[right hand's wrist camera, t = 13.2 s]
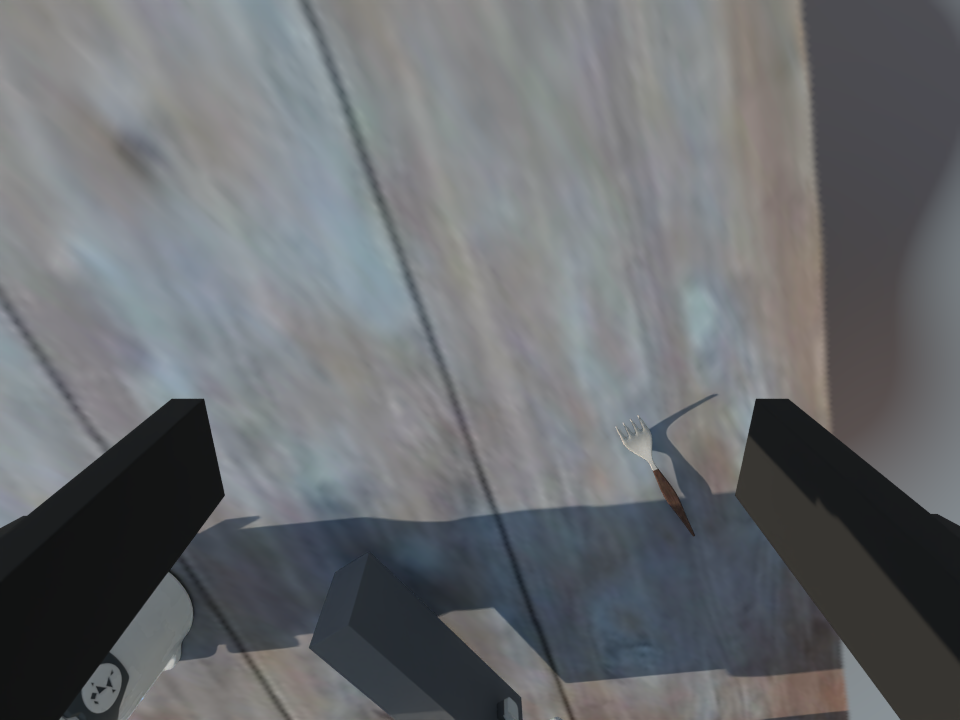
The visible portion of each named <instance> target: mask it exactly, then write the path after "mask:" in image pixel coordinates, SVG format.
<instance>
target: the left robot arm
mask: <svg viewBox="0 0 960 720" xmlns="http://www.w3.org/2000/svg"><path fill="white" fill-rule="evenodd" d="M192 622H193V607H192V603H191V600H190V597H189V595H188V593H187V592H186V590H185V589H184V587H183V586H182V585H181V583H180V582H179V581H178V580H177V579H176V578H175V577H174V576H173V575H172V574H171V573H169V572H168V573H167V575H166V576H165V577H164V579H163V580H162V581H161V583H160V584H159V585H158V587H157V588H156V589H155V591H154V592H153V594H152V595H151V596H150V598H149V599H148V600H147V602H146V603H145V604H144V606H143V607H142V608H141V610H140V611H139V612H138V614H137V615H136V617H135V618H134V619H133V621H132V622H131V623H130V625H129V626H128V627H127V629H126V630H125V631H124V633H123V634H122V636H121V637H120V638H119V640H118V641H117V642H116V644H115V645H114V646H113V648H112V649H111V650H110V652H109V653H108V655H107V656H106V657H105V659H104V660H103V661H102V663H101V664H100V665H99V667H98V668H97V669H96V671H95V672H94V673H93V675H92V676H91V678H90V679H89V680H88V682H87V683H86V684H85V686H84V687H83V688H82V690H81V691H80V692H79V694H78V695H77V697H76V698H75V699H74V701H73V702H72V703H71V705H70V706H69V707H68V709H67V710H66V711H65V713H64V714H63V715H62V717H61V718H60V720H127V719H128V718H129V717H130V715H131V714H132V713H133V711H134V710H135V709H136V707H137V706H138V705H139V703H140V702H141V700H142V699H143V698H144V696H145V695H146V694H147V692H148V691H149V689H150V688H151V687H152V685H153V684H154V682H155V681H156V680H157V678H158V677H159V676H160V674H161V673H162V671H165V670H170V669H172V668H174V667H175V665H176V664H177V662H178V661H179V660H180V657H181V643H182V641H183V639H184V638H185V636H186V635H187V633H188V632H189V630H190V628H191V626H192ZM497 719H498V720H519V717H518V707H517V704H516V703H515V702H514V701H513V700H512V699H511V698H510V697H508V698H506V699H504V700H502V701H500V702H498V703H497ZM550 720H562V719H561V718H559V717H555V718H552V719H550Z"/></svg>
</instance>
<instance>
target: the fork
mask: <svg viewBox="0 0 960 720" xmlns="http://www.w3.org/2000/svg"><path fill="white" fill-rule="evenodd" d="M638 418H639V420H640V423H641V425H642V430H639V429H638V427H637V426H636V425H635V423H634V422H633V421H632V420H631V419H630V420H631V422H632V425H633V427H634V429H635V433H634V434H633V433H632V432H631V431H630V430H629V429H628V427H627V426H626V425H625V424H624V423H623V425H624V427H625V429H626V431H627V433H628V437H625V436H624V435H623V434H622V433H621V431H620V430H619V429H618V428H617V427H616V429H617V431H618V433H619V435H620V437H621V439H622V441H623V443H624V445H625V446H626V447H627V448H628V449H629V450H630V451H632V452H633V453H635V454H637V455H639V456H640V457H642V458H644V459H645V460H647V461H648V462H649V464H650V465H651V468H652V470H653V472H654V475H655V477H656V479H657V482H658V484H659V487H660V489H661V491H662V493H663V495H664V497H665V499H666V500H667V502H668V503H669V505H670V506H671V507H672V509H673V510H674V511H675V512H676V514H677V515H678V516H679V518H680V519H681V520H682V522H683V523H684V524H685V526H686V527H687V528H688V530H689V531H690V533H691V534H692V535H693V536H695V534H694V532H693V530H692V528H691V526H690V523H689V521H688V519H687V517H686V514H685V512H684V510H683V507H682V505H681V502H680V500H679V498H678V496H677V494H676V492H675V491H674V489H673V488H672V486H671V485H670V484H669V482H668V481H667V480H666V478H665V477H664V476H663V474H662V473H661V472H660V471H659V469H658V468H657V467H656V465H655V464H654V462H653V460H652V435H651V432H650V430H649V429H648V428H647V426H646V425H645V423H644V422H643V421H642V419H641V418H640V417H639V415H638Z"/></svg>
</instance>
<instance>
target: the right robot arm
mask: <svg viewBox="0 0 960 720" xmlns="http://www.w3.org/2000/svg"><path fill="white" fill-rule="evenodd" d="M224 496H225V494H224V489H223V485H222V480H221V475H220V471H219V466H218V461H217V457H216V452H215V448H214V443H213V438H212V434H211V429H210V424H209V420H208V415H207V410H206V406H205V401H204V399H171V400H170V401H169V402H167V403H166V404H165V405H164V406H162V407H161V408H160V409H159V410H157V411H156V412H155V413H154V414H152V415H151V416H150V417H149V418H148V419H146V420H145V421H144V422H143V423H141V424H140V425H139V426H138V427H136V428H135V429H134V430H133V431H131V432H130V433H129V434H128V435H126V436H125V437H124V438H123V439H122V440H120V441H119V442H118V443H117V444H115V445H114V446H113V447H112V448H110V449H109V450H108V451H107V452H105V453H104V454H103V455H102V456H101V457H99V458H98V459H97V460H96V461H94V462H93V463H92V464H91V465H89V466H88V467H87V468H86V469H84V470H83V471H82V472H81V473H79V474H78V475H77V476H76V477H75V478H73V479H72V480H71V481H70V482H68V483H67V484H66V485H65V486H63V487H62V488H61V489H60V490H58V491H57V492H56V493H55V494H54V495H52V496H51V497H50V498H49V499H47V500H46V501H45V502H44V503H42V504H41V505H40V506H39V507H37V508H36V509H35V510H34V511H33V512H31V513H30V514H29V515H28V516H22V517H20V518H19V519H17V520H15V521H13V522H11V523H9V524H7V525H6V526H4V527H2V528H0V720H60V718H61V717H62V715H63V714H64V713H65V711H66V710H67V709H68V707H69V706H70V705H71V703H72V702H73V701H74V699H75V698H76V697H77V695H78V694H79V692H80V691H81V690H82V688H83V687H84V686H85V684H86V683H87V682H88V680H89V679H90V678H91V676H92V675H93V673H94V672H95V671H96V669H97V668H98V667H99V665H100V664H101V663H102V661H103V660H104V659H105V657H106V656H107V655H108V653H109V652H110V650H111V649H112V648H113V646H114V645H115V644H116V642H117V641H118V640H119V638H120V637H121V636H122V634H123V633H124V631H125V630H126V629H127V627H128V626H129V625H130V623H131V622H132V621H133V619H134V618H135V617H136V615H137V614H138V612H139V611H140V610H141V608H142V607H143V606H144V604H145V603H146V602H147V600H148V599H149V598H150V596H151V595H152V594H153V592H154V591H155V589H156V588H157V587H158V585H159V584H160V583H161V581H162V580H163V579H164V577H165V576H166V575H167V573H168V572H169V570H170V569H171V568H172V566H173V565H174V564H175V562H176V561H177V560H178V558H179V557H180V556H181V554H182V553H183V551H184V550H185V549H186V547H187V546H188V545H189V543H190V542H191V541H192V539H193V538H194V537H195V535H196V534H197V533H198V531H199V530H200V528H201V527H202V526H203V524H204V523H205V522H206V520H207V519H208V518H209V516H210V515H211V514H212V512H213V511H214V509H215V508H216V507H217V505H218V504H219V503H220V501H221V500H222V499H223V497H224ZM735 496H736V497H737V499H738V500H739V501H740V503H741V504H742V505H743V507H744V508H745V509H746V511H747V512H748V514H749V515H750V516H751V518H752V519H753V520H754V522H755V523H756V524H757V526H758V527H759V528H760V530H761V531H762V533H763V534H764V535H765V537H766V538H767V539H768V541H769V542H770V543H771V545H772V546H773V547H774V549H775V550H776V551H777V553H778V554H779V556H780V557H781V558H782V560H783V561H784V562H785V564H786V565H787V566H788V568H789V569H790V570H791V572H792V573H793V575H794V576H795V577H796V579H797V580H798V581H799V583H800V584H801V585H802V587H803V588H804V589H805V591H806V592H807V594H808V595H809V596H810V598H811V599H812V600H813V602H814V603H815V604H816V606H817V607H818V608H819V610H820V611H821V612H822V614H823V615H824V617H825V618H826V619H827V621H828V622H829V623H830V625H831V626H832V627H833V629H834V630H835V631H836V633H837V634H838V636H839V637H840V638H841V640H842V641H843V642H844V644H845V645H846V646H847V648H848V649H849V650H850V652H851V653H852V655H853V656H854V657H855V659H856V660H857V661H858V663H859V664H860V665H861V667H862V668H863V669H864V671H865V672H866V673H867V675H868V676H869V677H870V679H871V680H872V682H873V683H874V684H875V686H876V687H877V688H878V690H879V691H880V692H881V694H882V695H883V697H884V698H885V699H886V701H887V702H888V703H889V705H890V706H891V707H892V709H893V710H894V711H895V713H896V714H897V715H898V717H899V718H900V720H960V526H959V525H957V524H955V523H953V522H951V521H949V520H948V519H946V518H944V517H942V516H940V515H938V514H930V513H929V512H927V511H926V510H925V509H924V508H923V507H921V506H920V505H919V504H918V503H916V502H915V501H914V500H913V499H911V498H910V497H909V496H908V495H906V494H905V493H904V492H903V491H902V490H900V489H899V488H898V487H896V486H895V485H894V484H893V483H892V482H890V481H889V480H888V479H887V478H885V477H884V476H883V475H882V474H881V473H879V472H878V471H877V470H876V469H874V468H873V467H872V466H871V465H869V464H868V463H867V462H866V461H864V460H863V459H862V458H861V457H859V456H858V455H857V454H856V453H855V452H853V451H852V450H851V449H850V448H848V447H847V446H846V445H845V444H843V443H842V442H841V441H840V440H838V439H837V438H836V437H835V436H834V435H832V434H831V433H830V432H829V431H827V430H826V429H825V428H824V427H822V426H821V425H820V424H819V423H817V422H816V421H815V420H814V419H812V418H811V417H810V416H809V415H808V414H806V413H805V412H804V411H803V410H801V409H800V408H799V407H798V406H796V405H795V404H794V403H793V402H791V401H790V400H789V399H756V401H755V406H754V410H753V415H752V420H751V424H750V429H749V434H748V438H747V443H746V447H745V452H744V457H743V461H742V466H741V471H740V475H739V480H738V485H737V489H736V494H735Z"/></svg>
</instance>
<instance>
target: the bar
mask: <svg viewBox="0 0 960 720" xmlns="http://www.w3.org/2000/svg"><path fill="white" fill-rule="evenodd" d="M309 648H310V649H311V650H312V651H313V652H314V653H316V654H317V655H318V656H319V657H320V658H322V659H323V660H324V661H325V662H326V663H328V664H329V665H330V666H331V667H332V668H334V669H335V670H336V671H337V672H338V673H340V674H341V675H342V676H343V677H344V678H346V679H347V680H348V681H349V682H350V683H352V684H353V685H354V686H355V687H356V688H358V689H359V690H360V691H361V692H362V693H364V694H365V695H366V696H367V697H368V698H370V699H371V700H372V701H373V702H374V703H376V704H377V705H378V706H379V707H380V708H382V709H383V710H384V711H385V712H386V713H388V714H389V715H390V716H391V717H392V718H394V719H395V720H498V719H497V703H498V702H500V701H502V700H504V699H506V698H508V697H510V698H511V699H512V700H513V701H514V702H515V703H516V704H517V707H518V717H519V720H523V719H522V704H521V697H520V696H519V695H518V694H517V693H516V692H515V691H514V690H513V689H512V688H511V687H510V686H509V685H508V684H507V683H506V682H504V681H503V680H502V679H501V678H500V677H499V676H498V675H497V674H496V673H495V672H494V671H493V670H492V669H491V668H490V667H489V666H488V665H487V664H486V663H485V662H484V661H483V660H482V659H481V658H479V657H478V656H477V655H476V654H475V653H474V652H473V651H472V650H471V649H470V648H469V647H468V646H467V645H466V644H465V643H464V642H463V641H462V640H461V639H460V638H459V637H458V636H457V635H456V634H455V633H453V632H452V631H451V630H450V629H449V628H448V627H447V626H446V625H445V624H444V623H443V622H442V621H441V620H440V619H439V618H438V617H437V616H436V615H435V614H434V613H433V612H432V611H431V610H430V609H428V608H427V607H426V606H425V605H424V604H423V603H422V602H421V601H420V600H419V599H418V598H417V597H416V596H415V595H414V594H413V593H412V592H411V591H410V590H409V589H408V588H407V587H406V586H405V585H403V584H402V583H401V582H400V581H399V580H398V579H397V578H396V577H395V576H394V575H393V574H392V573H391V572H390V571H389V570H388V569H387V568H386V567H385V566H384V565H383V564H382V563H381V562H380V561H379V560H377V559H376V558H375V557H374V556H373V555H372V554H371V553H370V552H368V553H366V554H364V555H363V556H361V557H359V558H358V559H356V560H355V561H353V562H351V563H350V564H348V565H346V566H345V567H343V568H342V569H340V570H338V571H337V572H335V574H334V577H333V580H332V583H331V586H330V589H329V592H328V594H327V597H326V600H325V603H324V606H323V609H322V612H321V615H320V617H319V620H318V623H317V626H316V629H315V632H314V635H313V638H312V640H311V643H310V646H309Z"/></svg>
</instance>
